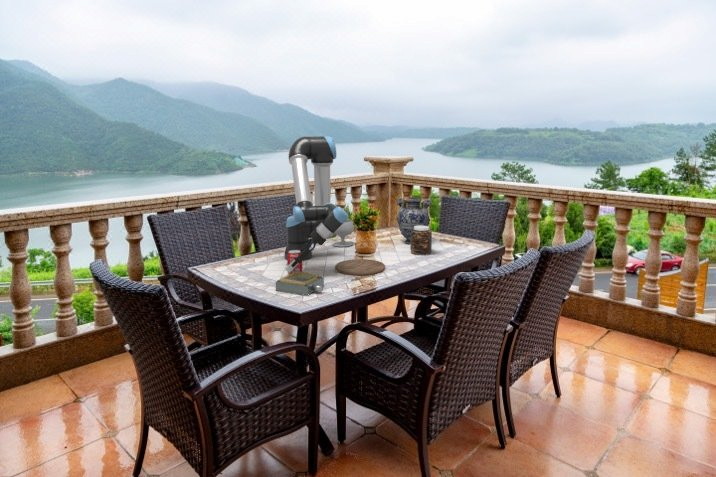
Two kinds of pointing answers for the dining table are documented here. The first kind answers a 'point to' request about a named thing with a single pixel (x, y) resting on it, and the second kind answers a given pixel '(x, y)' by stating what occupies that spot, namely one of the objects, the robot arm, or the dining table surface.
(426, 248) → the jar
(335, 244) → the chalice
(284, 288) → the grey framed box
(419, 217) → the decorative vase
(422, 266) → the dining table surface
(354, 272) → the trivet
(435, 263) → the dining table surface
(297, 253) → the soda can
